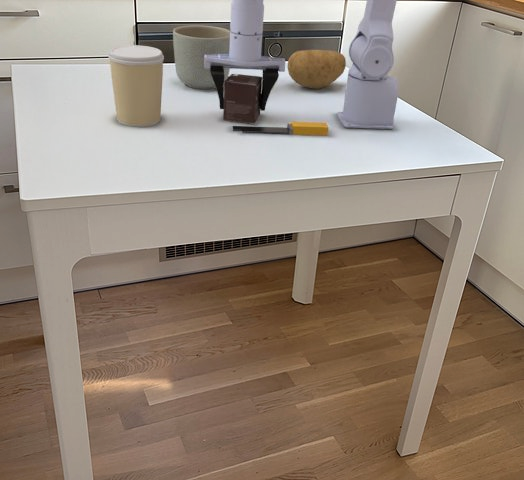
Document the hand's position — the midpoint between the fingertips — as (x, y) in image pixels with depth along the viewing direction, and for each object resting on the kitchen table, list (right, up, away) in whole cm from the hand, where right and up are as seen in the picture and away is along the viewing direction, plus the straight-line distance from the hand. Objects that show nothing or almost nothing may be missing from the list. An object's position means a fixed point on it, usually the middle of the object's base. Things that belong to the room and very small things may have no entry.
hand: (242, 108), depth 120 cm
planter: (-9, +10, +18) cm, 22 cm away
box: (0, -2, +1) cm, 2 cm away
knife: (+7, -5, -4) cm, 10 cm away
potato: (+16, +11, +22) cm, 29 cm away
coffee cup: (-19, -3, -4) cm, 19 cm away
